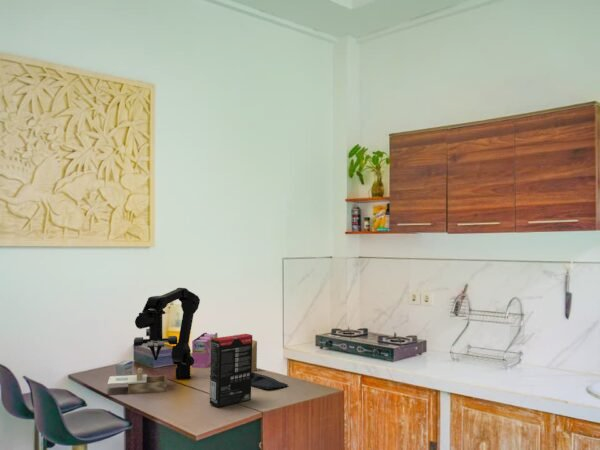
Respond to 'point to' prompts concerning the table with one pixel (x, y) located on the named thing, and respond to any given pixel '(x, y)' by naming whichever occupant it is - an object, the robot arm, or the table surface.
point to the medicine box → (124, 368)
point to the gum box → (202, 350)
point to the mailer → (149, 385)
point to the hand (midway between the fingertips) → (155, 360)
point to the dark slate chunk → (265, 381)
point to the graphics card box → (230, 369)
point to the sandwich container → (254, 355)
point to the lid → (128, 379)
